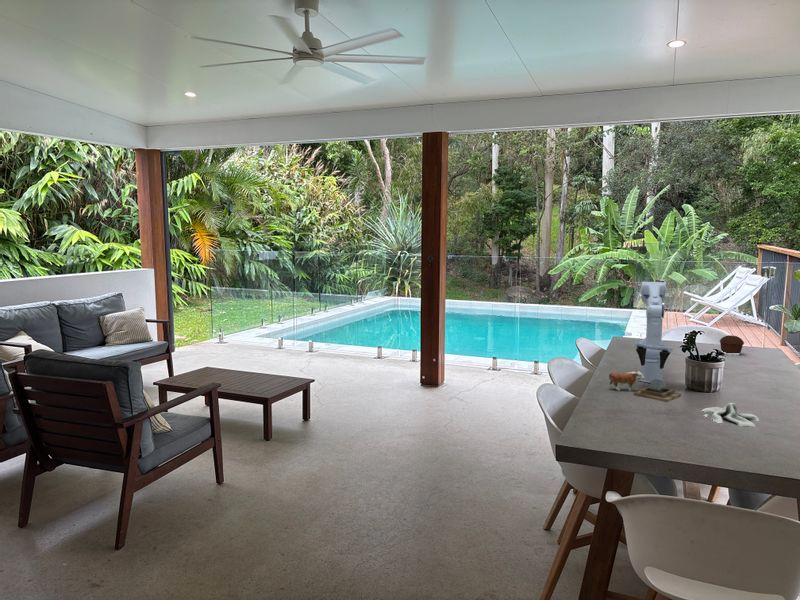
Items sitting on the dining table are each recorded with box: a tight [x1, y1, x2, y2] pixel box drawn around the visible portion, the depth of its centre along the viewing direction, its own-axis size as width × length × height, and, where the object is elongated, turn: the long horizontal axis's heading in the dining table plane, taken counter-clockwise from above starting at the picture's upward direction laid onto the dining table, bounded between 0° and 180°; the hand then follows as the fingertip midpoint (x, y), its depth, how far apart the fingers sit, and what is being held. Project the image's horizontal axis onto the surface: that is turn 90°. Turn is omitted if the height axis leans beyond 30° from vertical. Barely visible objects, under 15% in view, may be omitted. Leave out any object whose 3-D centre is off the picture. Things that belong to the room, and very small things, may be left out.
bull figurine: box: [608, 370, 644, 392], centre depth 233 cm, size 4×13×8 cm, turn 79°
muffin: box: [719, 334, 745, 353], centre depth 310 cm, size 12×11×10 cm
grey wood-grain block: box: [649, 379, 667, 393], centre depth 226 cm, size 5×4×5 cm
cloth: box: [701, 402, 760, 428], centre depth 197 cm, size 22×19×6 cm
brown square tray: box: [633, 385, 682, 403], centre depth 226 cm, size 13×13×2 cm
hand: (652, 366), depth 235 cm, fingers open, 7 cm apart
